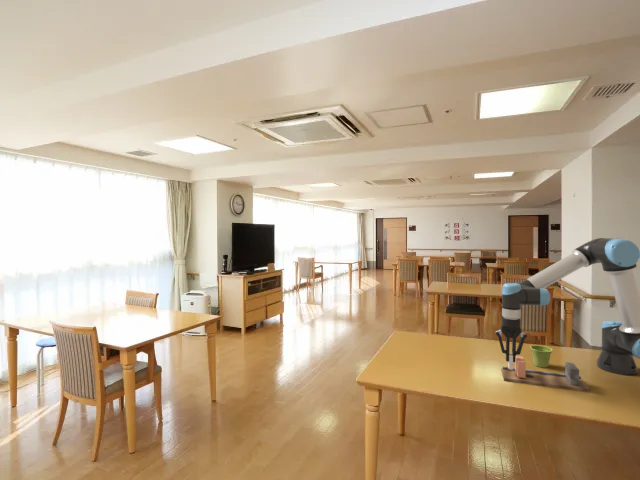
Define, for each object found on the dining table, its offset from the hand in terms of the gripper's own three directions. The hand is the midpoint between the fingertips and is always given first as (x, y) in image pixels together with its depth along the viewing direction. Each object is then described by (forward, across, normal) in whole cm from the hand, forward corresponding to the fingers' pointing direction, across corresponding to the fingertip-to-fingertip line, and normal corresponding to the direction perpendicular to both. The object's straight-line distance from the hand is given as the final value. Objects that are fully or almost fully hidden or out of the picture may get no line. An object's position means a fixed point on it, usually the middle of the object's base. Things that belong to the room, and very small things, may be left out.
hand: (510, 368), depth 166 cm
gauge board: (+4, -13, 0) cm, 13 cm away
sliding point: (+2, -4, 0) cm, 4 cm away
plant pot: (+4, -16, -20) cm, 26 cm away
